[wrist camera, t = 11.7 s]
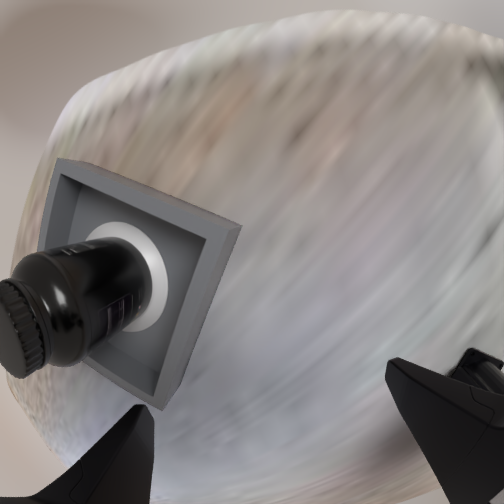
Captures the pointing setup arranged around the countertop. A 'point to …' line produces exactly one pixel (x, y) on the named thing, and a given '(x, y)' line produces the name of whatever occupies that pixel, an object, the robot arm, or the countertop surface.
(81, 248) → the supplement bottle
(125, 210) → the housing
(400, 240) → the countertop surface
